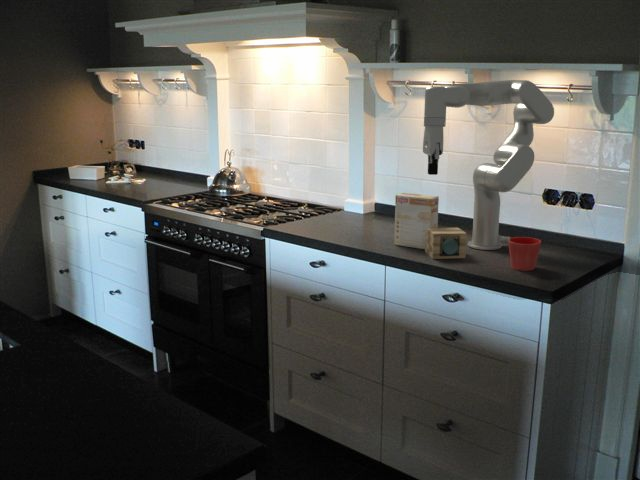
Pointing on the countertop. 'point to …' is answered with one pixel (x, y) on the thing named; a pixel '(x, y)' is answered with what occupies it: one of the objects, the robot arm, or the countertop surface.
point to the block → (436, 240)
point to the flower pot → (523, 252)
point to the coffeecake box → (414, 218)
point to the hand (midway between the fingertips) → (432, 174)
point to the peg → (449, 246)
